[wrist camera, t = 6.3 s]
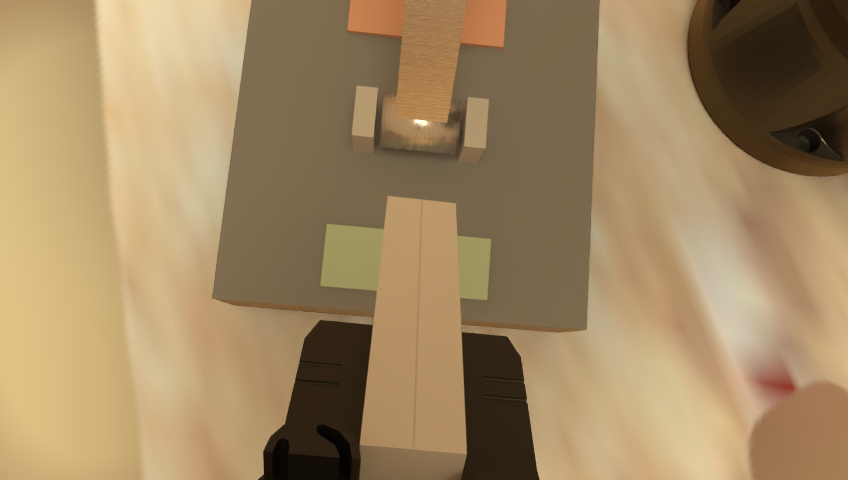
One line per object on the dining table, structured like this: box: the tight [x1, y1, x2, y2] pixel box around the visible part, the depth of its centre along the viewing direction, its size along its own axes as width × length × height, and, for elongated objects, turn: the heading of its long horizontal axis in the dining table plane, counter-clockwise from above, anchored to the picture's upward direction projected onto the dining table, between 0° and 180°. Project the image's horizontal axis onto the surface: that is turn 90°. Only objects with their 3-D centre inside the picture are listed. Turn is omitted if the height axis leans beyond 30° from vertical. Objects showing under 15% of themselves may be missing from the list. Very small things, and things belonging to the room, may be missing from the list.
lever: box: [380, 0, 467, 154], centre depth 28 cm, size 4×3×14 cm
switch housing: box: [212, 0, 600, 332], centre depth 35 cm, size 18×18×8 cm
